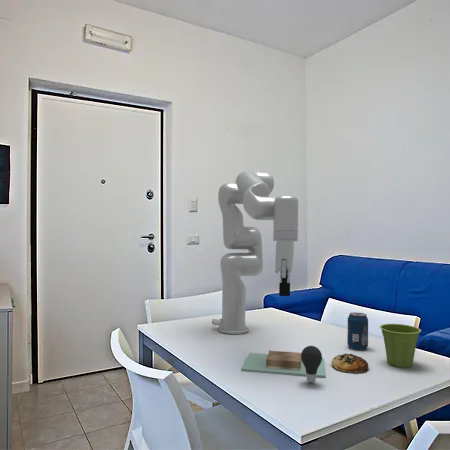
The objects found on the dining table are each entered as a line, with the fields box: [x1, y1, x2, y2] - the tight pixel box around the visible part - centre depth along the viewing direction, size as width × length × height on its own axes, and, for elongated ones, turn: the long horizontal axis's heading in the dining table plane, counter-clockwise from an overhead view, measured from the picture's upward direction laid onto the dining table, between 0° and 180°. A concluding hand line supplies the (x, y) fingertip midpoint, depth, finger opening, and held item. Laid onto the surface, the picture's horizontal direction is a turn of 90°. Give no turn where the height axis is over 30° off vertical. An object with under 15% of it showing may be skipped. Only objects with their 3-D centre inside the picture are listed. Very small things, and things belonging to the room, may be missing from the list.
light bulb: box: [300, 345, 323, 385], centre depth 111 cm, size 6×6×10 cm
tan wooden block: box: [266, 350, 302, 371], centre depth 125 cm, size 10×2×9 cm
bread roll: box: [330, 353, 369, 374], centre depth 125 cm, size 11×11×5 cm
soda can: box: [347, 312, 369, 351], centre depth 145 cm, size 7×7×12 cm
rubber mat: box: [240, 352, 327, 379], centre depth 125 cm, size 24×16×1 cm, turn 78°
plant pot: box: [379, 323, 422, 368], centre depth 128 cm, size 12×12×11 cm
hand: (284, 295), depth 127 cm, fingers closed
